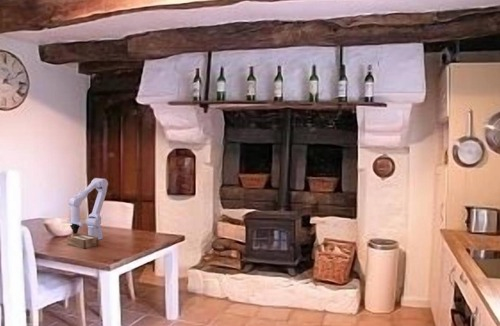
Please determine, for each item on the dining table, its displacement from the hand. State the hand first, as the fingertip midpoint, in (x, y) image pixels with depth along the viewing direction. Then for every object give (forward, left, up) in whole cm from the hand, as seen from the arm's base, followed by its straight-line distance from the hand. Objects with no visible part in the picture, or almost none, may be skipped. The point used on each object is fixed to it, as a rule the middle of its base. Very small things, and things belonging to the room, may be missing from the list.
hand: (75, 234), depth 325 cm
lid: (0, +8, -1) cm, 8 cm away
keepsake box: (0, +8, -6) cm, 10 cm away
